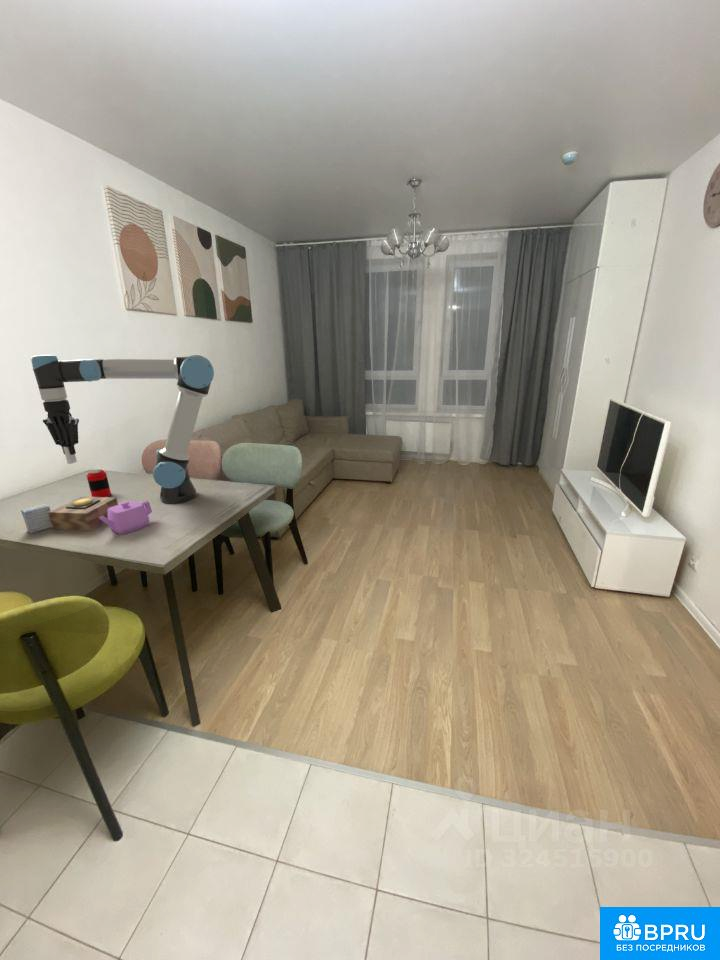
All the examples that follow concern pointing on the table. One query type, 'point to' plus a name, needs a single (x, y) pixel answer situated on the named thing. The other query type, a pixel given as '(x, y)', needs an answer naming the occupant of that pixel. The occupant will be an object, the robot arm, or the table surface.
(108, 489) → the soda can
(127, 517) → the teapot
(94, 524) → the socket
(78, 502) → the peg
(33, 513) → the medicine box
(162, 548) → the table surface
